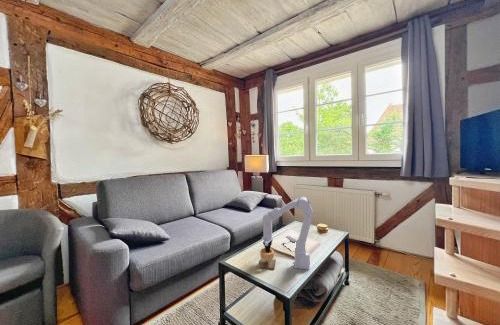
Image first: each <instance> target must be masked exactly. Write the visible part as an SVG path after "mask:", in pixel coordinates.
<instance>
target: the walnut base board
mask: <svg viewBox="0 0 500 325" xmlns="http://www.w3.org/2000/svg"><path fill="white" fill-rule="evenodd" d="M276 263H277V260H276V259H274V258H273V259H270V260H269V263H268V264H267V263H266V260H264V259H262V258H261V257H260V260H259V264H258V265H257V266H258V267H257V268H258V269H263V270H275V267H276Z"/></svg>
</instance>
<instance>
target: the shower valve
mask: <svg viewBox="0 0 500 325" xmlns="http://www.w3.org/2000/svg"><path fill="white" fill-rule="evenodd" d="M285 238H286V239H287V240H289V242H292V243H295V242H296V241H297V239H296V238H294V237H292V236H289V235H285Z"/></svg>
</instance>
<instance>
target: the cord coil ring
mask: <svg viewBox="0 0 500 325" xmlns="http://www.w3.org/2000/svg"><path fill="white" fill-rule="evenodd" d="M259 253H260V259H261V258H262V259H264V260H270V259H274V257H275V250H274V249H273V248H271V247H270V252H269V253H268V252H266V250H265V247H263V248H261V249H260V252H259Z"/></svg>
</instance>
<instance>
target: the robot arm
mask: <svg viewBox="0 0 500 325" xmlns="http://www.w3.org/2000/svg"><path fill="white" fill-rule="evenodd" d="M291 209H300V211H302V212H303V213H304V217H303V220H302V225H301V228H300V233H299V235H298V239H296V248H295V251H294V261H293V267H294V269H300V270H311V269H310V268H311V266H310V265H311V259H310V254H311V253H310V252H307V249H306V244H307V238H308V235H309V231H310V227H311V224H312V220H313V217H314V210H313V208H312V205H311V202H310V200H309V199H308V198H307V197H306V196H300V197H298V198H295V199H294V200H291V201H290V202H288V203H287V204H285V205H283V206H282V207H274V208H273V209H272V210H271V211H267V212H265V213H264V215H263V216H262V222H263V228H262V229H263V232H262V233H263V235H262V237H261V240H263V242H262V244H263V247H264V248H265V250H266V252H268V253H269V252H270V248H271V246H272V244H273V221H274V220H276V219H278V218H280V217H282V216H283V214H284V213H285V212H288V211H289V210H291Z"/></svg>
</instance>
